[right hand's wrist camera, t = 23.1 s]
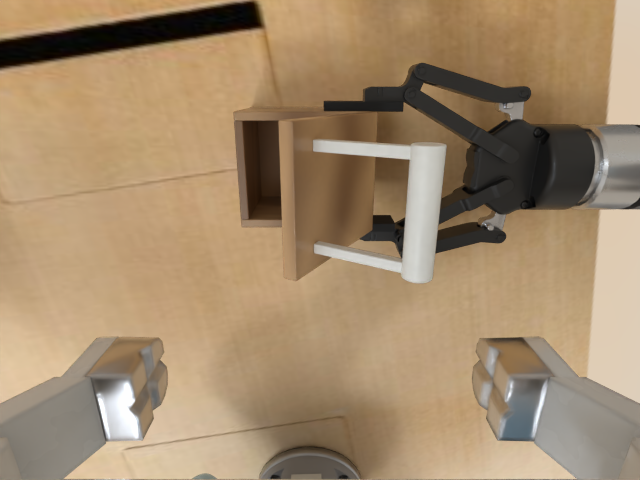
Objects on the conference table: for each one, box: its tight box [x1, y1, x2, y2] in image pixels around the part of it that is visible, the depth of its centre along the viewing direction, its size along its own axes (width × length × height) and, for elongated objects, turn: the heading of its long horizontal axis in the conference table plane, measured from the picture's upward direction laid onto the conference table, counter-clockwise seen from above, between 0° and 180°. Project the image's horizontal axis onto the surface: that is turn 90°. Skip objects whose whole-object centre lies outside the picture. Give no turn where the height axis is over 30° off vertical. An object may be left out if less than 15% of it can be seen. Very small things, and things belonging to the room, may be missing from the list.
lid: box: [279, 112, 447, 283], centre depth 27 cm, size 12×10×9 cm
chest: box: [234, 107, 370, 227], centre depth 38 cm, size 11×10×9 cm
